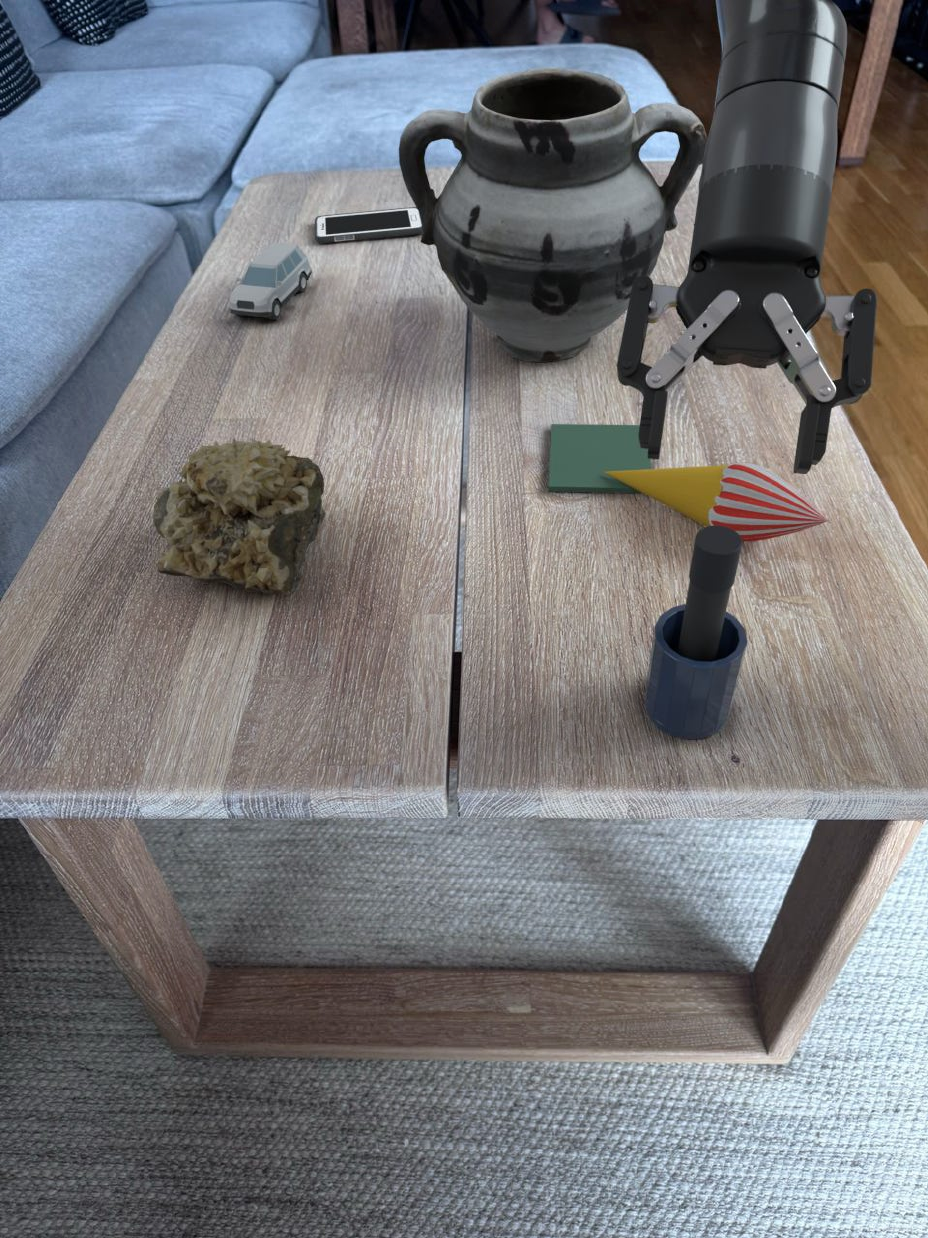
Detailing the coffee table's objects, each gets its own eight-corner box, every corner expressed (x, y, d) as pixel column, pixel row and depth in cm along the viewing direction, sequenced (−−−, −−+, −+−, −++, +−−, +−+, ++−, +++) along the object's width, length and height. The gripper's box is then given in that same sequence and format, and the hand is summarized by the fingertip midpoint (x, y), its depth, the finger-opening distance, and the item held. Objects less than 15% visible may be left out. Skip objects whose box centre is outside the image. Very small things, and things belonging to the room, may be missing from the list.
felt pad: (646, 430, 86) (647, 424, 85) (652, 493, 78) (653, 488, 78) (551, 429, 86) (551, 423, 86) (548, 491, 79) (548, 486, 79)
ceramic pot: (672, 295, 105) (702, 47, 88) (689, 399, 89) (730, 120, 72) (427, 296, 108) (409, 56, 91) (400, 397, 92) (372, 127, 74)
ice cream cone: (612, 509, 83) (830, 563, 71) (575, 504, 78) (802, 560, 66) (629, 441, 82) (853, 484, 70) (592, 431, 77) (827, 475, 65)
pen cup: (724, 677, 63) (741, 604, 58) (733, 741, 59) (752, 668, 54) (642, 674, 64) (652, 601, 59) (646, 737, 60) (657, 665, 55)
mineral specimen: (123, 600, 72) (80, 498, 65) (193, 502, 81) (162, 404, 74) (295, 623, 69) (270, 519, 62) (348, 519, 78) (331, 418, 71)
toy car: (226, 324, 105) (216, 282, 102) (274, 277, 114) (267, 237, 111) (271, 329, 104) (263, 286, 100) (316, 281, 113) (310, 240, 109)
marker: (705, 687, 62) (739, 525, 52) (709, 717, 60) (745, 554, 50) (666, 685, 62) (693, 524, 52) (669, 715, 60) (697, 553, 50)
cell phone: (425, 234, 121) (424, 227, 121) (315, 244, 121) (314, 237, 120) (420, 213, 127) (419, 206, 126) (315, 223, 126) (314, 215, 125)
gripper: (641, 154, 51) (603, 439, 51) (911, 162, 48) (869, 464, 48) (642, 215, 59) (608, 464, 59) (876, 225, 56) (840, 487, 56)
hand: (726, 464), depth 54 cm, fingers open, 8 cm apart
